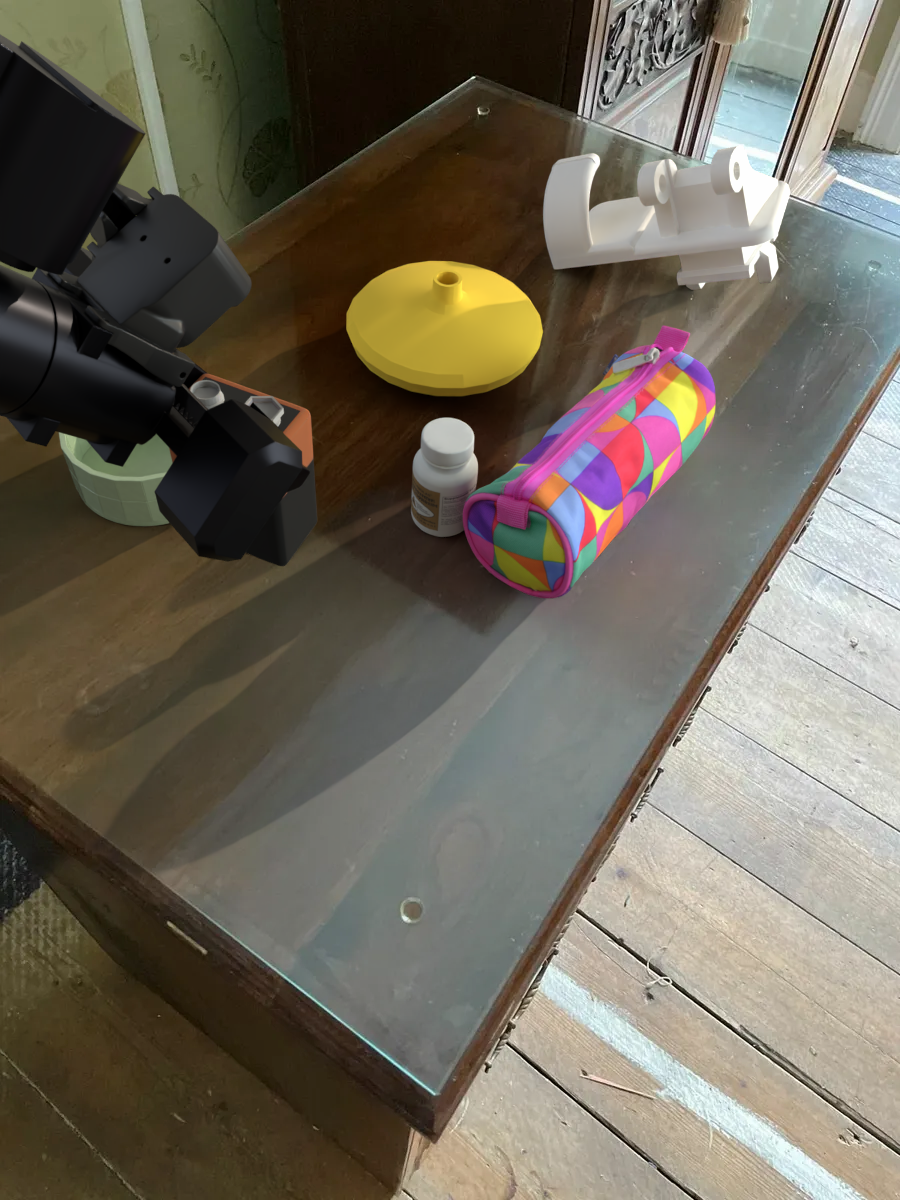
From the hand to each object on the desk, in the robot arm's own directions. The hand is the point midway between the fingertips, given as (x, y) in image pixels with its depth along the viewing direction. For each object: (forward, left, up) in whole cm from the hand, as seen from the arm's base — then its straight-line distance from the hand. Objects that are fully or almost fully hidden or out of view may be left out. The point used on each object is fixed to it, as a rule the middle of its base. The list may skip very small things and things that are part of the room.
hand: (262, 436), depth 52 cm
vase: (+18, +20, -14) cm, 30 cm away
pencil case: (+23, +1, -14) cm, 26 cm away
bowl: (-6, +13, -13) cm, 20 cm away
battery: (-1, 0, -7) cm, 7 cm away
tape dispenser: (+40, +26, -14) cm, 50 cm away
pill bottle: (+12, +3, -14) cm, 18 cm away
